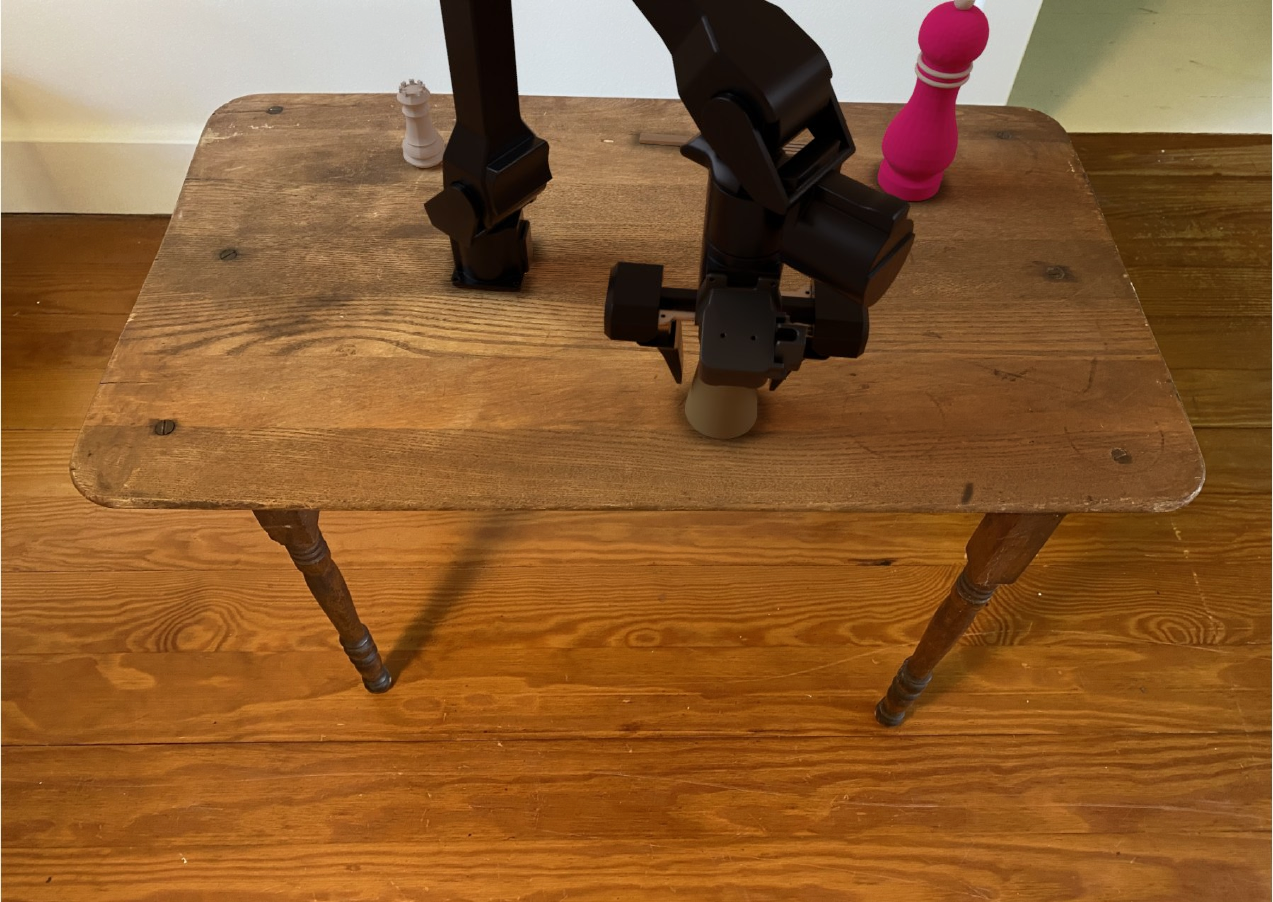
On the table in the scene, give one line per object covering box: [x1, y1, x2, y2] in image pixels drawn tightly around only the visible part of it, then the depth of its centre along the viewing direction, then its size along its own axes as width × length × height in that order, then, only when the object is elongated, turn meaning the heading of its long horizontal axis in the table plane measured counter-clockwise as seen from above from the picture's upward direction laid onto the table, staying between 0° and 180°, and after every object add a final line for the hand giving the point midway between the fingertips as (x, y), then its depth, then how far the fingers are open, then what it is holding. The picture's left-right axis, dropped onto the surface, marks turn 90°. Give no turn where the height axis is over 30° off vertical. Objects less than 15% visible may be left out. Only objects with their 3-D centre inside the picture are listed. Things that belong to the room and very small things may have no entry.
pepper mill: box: [877, 0, 990, 202], centre depth 86 cm, size 7×7×20 cm
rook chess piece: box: [396, 78, 446, 169], centre depth 92 cm, size 4×4×8 cm
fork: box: [639, 132, 810, 158], centre depth 97 cm, size 19×2×1 cm, turn 85°
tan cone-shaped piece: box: [684, 326, 758, 440], centre depth 72 cm, size 6×6×11 cm
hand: (725, 383), depth 73 cm, fingers closed on tan cone-shaped piece, 7 cm apart
